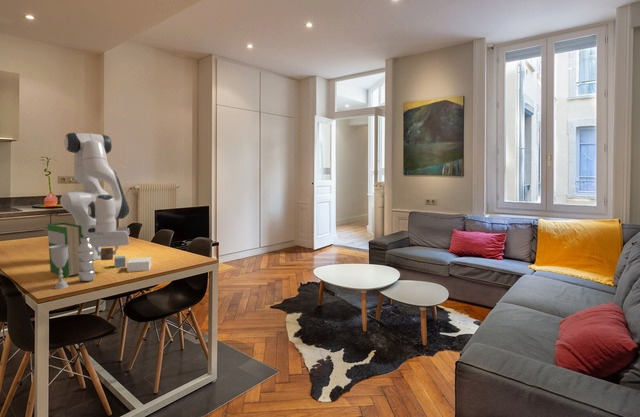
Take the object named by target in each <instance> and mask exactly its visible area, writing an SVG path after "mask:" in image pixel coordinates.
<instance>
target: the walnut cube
mask: <svg viewBox="0 0 640 417" xmlns="http://www.w3.org/2000/svg"><path fill="white" fill-rule="evenodd" d="M113 251H114V248H113V247H101V258H100V261H112V260H113V259H114V255H113ZM113 261H114V260H113Z"/></svg>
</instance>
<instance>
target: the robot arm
mask: <svg viewBox="0 0 640 417" xmlns="http://www.w3.org/2000/svg"><path fill="white" fill-rule="evenodd" d="M63 144H64V148H65V149H66V151H67V152H70V153H73V154H74V156H73V157H74V158H73V178H74V180H75V182H77V183H79V184H81V185H82V186H83V188H84V190H72V191H68V192H64V193H62V195H61V197H60V198H59V199H60V201H59V202H60V206H61V207H62V208H63V209H64V210H65V211H67V212H68V213H70V214H71V216H72V218H74V221H75V222H74V223H75V225H80V226H82V238H83V237H90V243H91V244H92V245H93V247H94V256H93V261H95V260H101V248H107V247H114V250H113V256H114V255H115V256H116V255H117V251H118V249H119V246H120V247H121V246H123V247H124V246H129V244H130V238H129V237H130V236H129V235H130V234H131V232H130V231H131V230H130V228H128V227H126V226H123V227H121V226H120V227H119V226H118V227H117V219H118V220H119V219H120V220H121V219H125V218H126V217H128V215H129V214H130V206H129V204H128V201H127V198H126V197H125V194H124V191H123V190H124V189H123V188H122V187H123V186H122V184H121V182H120V179H119V176H118V174H117V172H116V171H115V170H113V169H112V168H111V167H110V165H109V163H108V157H107V156H108V155H107V154H109V153H110V152H111V151H112V148H113V142H112V139H111V138H110V136H108V135H105V134H97V133H91V132H90V133H89V132H88V133H86V132H85V133H84V132H80V133H79V132H78V133H76V132H70V133H67V134H66V135H65V137H64V141H63ZM100 181H103V182H105V183H106V184H108V185H109V186H110V187H111V191H112V193H113V196H112V195H110V193H108V192H107V191H106V190H105V189H104V188H103V187H102V186H101V184H100Z"/></svg>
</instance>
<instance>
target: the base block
mask: <svg viewBox="0 0 640 417" xmlns="http://www.w3.org/2000/svg"><path fill="white" fill-rule="evenodd" d="M151 268H152V256H148V257H132V258H131V257H130V258H129V259H128V261H127V262H126V270H127V271H126V272H127V273H131V272H133V273H134V272H135V271H136V272H149V271H150V269H151Z"/></svg>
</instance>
